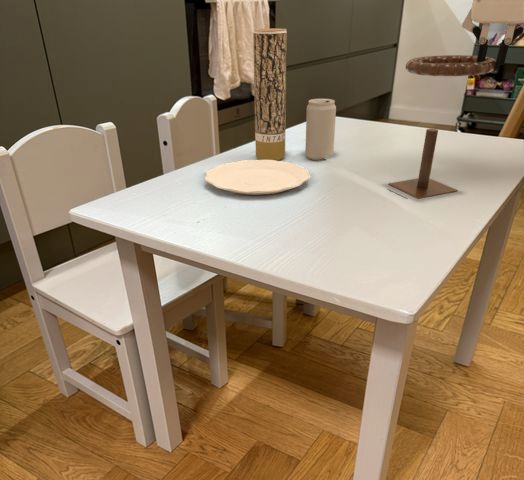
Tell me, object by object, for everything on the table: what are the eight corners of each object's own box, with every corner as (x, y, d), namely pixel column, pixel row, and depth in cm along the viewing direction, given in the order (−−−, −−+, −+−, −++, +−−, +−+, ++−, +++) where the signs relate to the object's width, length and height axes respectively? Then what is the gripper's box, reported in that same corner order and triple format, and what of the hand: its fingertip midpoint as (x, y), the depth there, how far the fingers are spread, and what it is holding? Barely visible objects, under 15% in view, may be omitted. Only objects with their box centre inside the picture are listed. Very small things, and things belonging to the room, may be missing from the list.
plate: (239, 162, 112) (239, 155, 111) (325, 175, 104) (325, 166, 103) (185, 189, 98) (184, 181, 97) (280, 206, 89) (280, 197, 88)
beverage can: (329, 162, 112) (333, 103, 105) (301, 160, 113) (303, 102, 106) (335, 155, 116) (339, 98, 109) (308, 153, 118) (310, 97, 111)
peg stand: (424, 183, 99) (435, 122, 93) (456, 196, 93) (470, 132, 86) (387, 189, 96) (395, 127, 90) (417, 204, 90) (428, 138, 83)
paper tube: (250, 156, 116) (247, 29, 102) (276, 152, 119) (276, 28, 104) (264, 163, 112) (262, 31, 97) (290, 159, 114) (292, 29, 99)
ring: (453, 64, 103) (455, 53, 102) (513, 71, 91) (516, 58, 90) (389, 71, 99) (390, 59, 97) (443, 79, 86) (445, 66, 85)
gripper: (568, -59, 82) (534, 68, 93) (466, -56, 87) (445, 65, 98) (575, -63, 77) (537, 73, 87) (465, -59, 81) (442, 70, 92)
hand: (488, 68), depth 92 cm, fingers closed on ring, 2 cm apart
